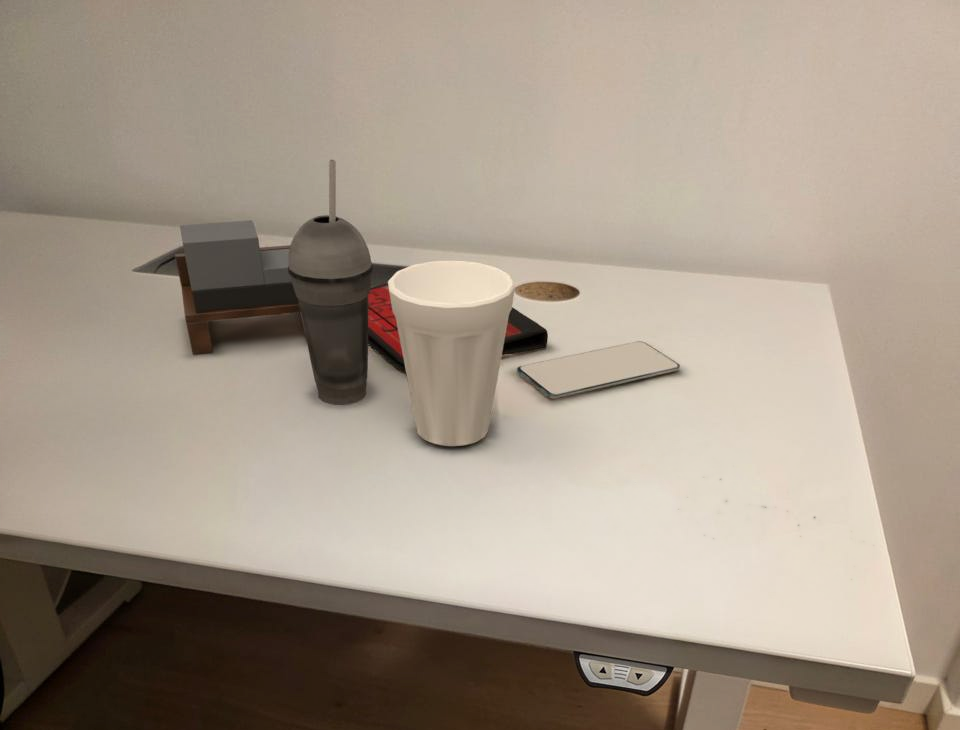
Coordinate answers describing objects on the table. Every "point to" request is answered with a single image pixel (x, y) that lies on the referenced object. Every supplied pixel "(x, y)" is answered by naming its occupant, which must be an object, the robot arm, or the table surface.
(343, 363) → the beverage cup
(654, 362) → the smartphone
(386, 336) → the binder
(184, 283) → the bench
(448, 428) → the cup
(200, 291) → the stepped block on base
